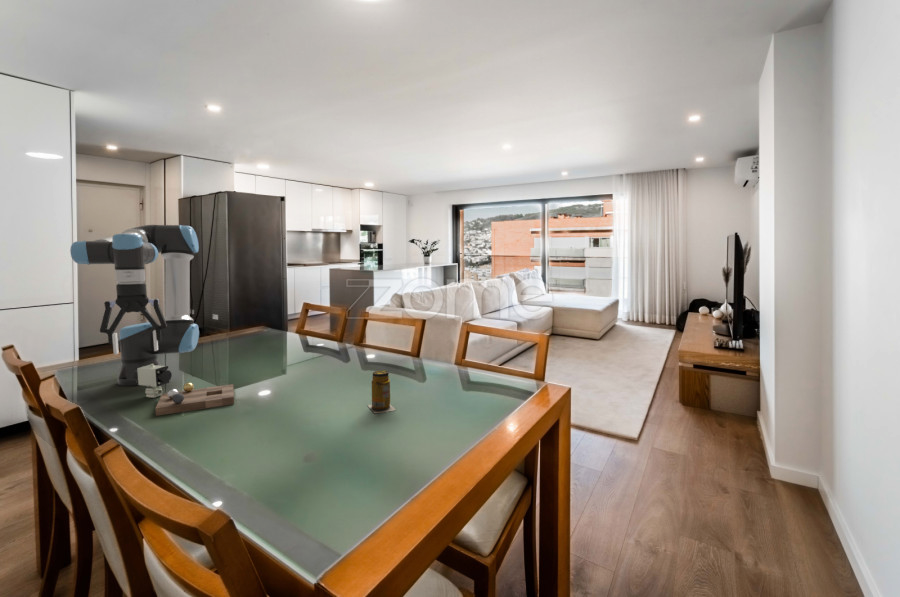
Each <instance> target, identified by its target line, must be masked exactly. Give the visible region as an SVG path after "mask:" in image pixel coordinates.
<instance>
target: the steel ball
mask: <svg viewBox="0 0 900 597" xmlns="http://www.w3.org/2000/svg"><path fill="white" fill-rule="evenodd" d="M166 393H167V396H168V397H169V398H170V399H172V398H173V396H174V395H175V394H177V393H179V392H178V390H177V389H176V388H172V389H170V390H168V392H166Z"/></svg>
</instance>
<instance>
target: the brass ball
mask: <svg viewBox="0 0 900 597" xmlns="http://www.w3.org/2000/svg"><path fill="white" fill-rule="evenodd" d="M194 386H195V385H194V384H193V383H192V382H186V383H184V385H183V387H182V389H183V391H186V392H190V391H192V390H193V389H195V387H194Z"/></svg>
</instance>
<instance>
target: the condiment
mask: <svg viewBox="0 0 900 597" xmlns="http://www.w3.org/2000/svg"><path fill="white" fill-rule="evenodd" d="M389 374H390V373H389V371H387V370H383V369H382V370H375V371H373V373H372V380H371V404H367V406H368V408H369V409H370V410H371V412H372V413H373V414H382V413H389V412H393V411H396V408H395V407H394V406H392V405H391V380H390V377H389Z"/></svg>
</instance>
